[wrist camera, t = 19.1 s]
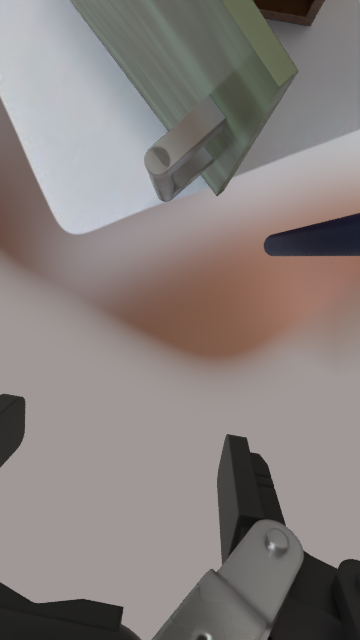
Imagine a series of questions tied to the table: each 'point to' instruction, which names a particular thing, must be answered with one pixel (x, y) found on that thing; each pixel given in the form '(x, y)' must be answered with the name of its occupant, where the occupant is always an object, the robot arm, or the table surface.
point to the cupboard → (290, 10)
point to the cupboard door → (196, 80)
